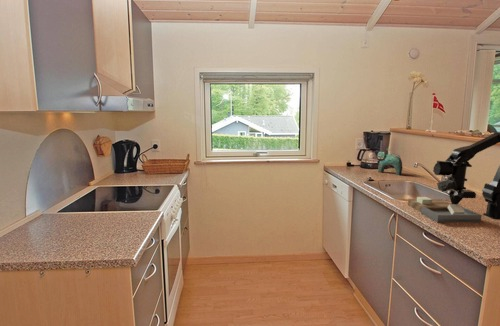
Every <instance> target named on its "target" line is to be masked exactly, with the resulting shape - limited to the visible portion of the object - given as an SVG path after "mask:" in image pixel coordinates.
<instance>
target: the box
mask: <svg viewBox="0 0 500 326" xmlns="http://www.w3.org/2000/svg"><path fill="white" fill-rule="evenodd" d="M462 208H463V209H464V211H465V213H464V214H451V213H450V211H449V210H429V209H427V208H426V207H422V209H421V212H420V214H421V215H423V216H425V217H427V218H428V219H430V220H432V221H434V222H435V223H437V224H438V223H439V224H440V223H442V224H443V223H445V224H446V223H447V224H449V223H454V224H455V223H456V224H457V223H464V224H465V223H466V224H467V223H468V224H469V223H472V224H473V223H479V224H480V223H482V222H481V221H482V215H483V214H480V213H478V212H476V211H473V210H471V209H469V208H466V207H464V206H462Z"/></svg>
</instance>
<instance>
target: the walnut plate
mask: <svg viewBox="0 0 500 326" xmlns="http://www.w3.org/2000/svg"><path fill="white" fill-rule="evenodd" d="M449 204H451V202H449V201H446V200H443V199H432V204H421V203H419V202H417V199H407V206H409V207H411V208H413V209H414V210H416V211H417V212H420V213H421V209H422V207H426V208H427V209H429V210H449V209H448V206H449Z"/></svg>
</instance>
